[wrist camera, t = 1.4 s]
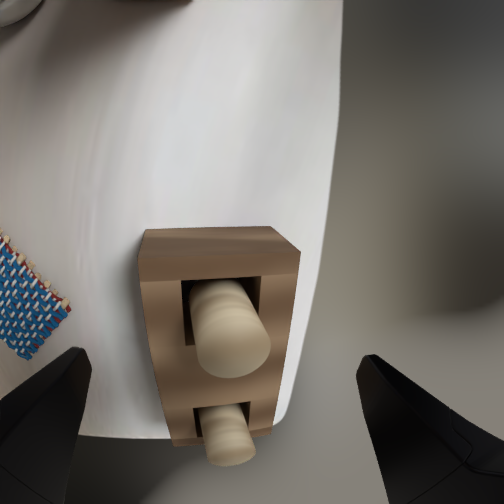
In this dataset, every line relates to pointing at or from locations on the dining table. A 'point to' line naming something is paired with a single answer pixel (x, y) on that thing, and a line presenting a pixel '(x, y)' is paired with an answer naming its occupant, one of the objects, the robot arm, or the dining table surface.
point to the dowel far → (226, 434)
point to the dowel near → (226, 328)
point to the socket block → (180, 324)
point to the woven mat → (26, 303)
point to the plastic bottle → (15, 10)
